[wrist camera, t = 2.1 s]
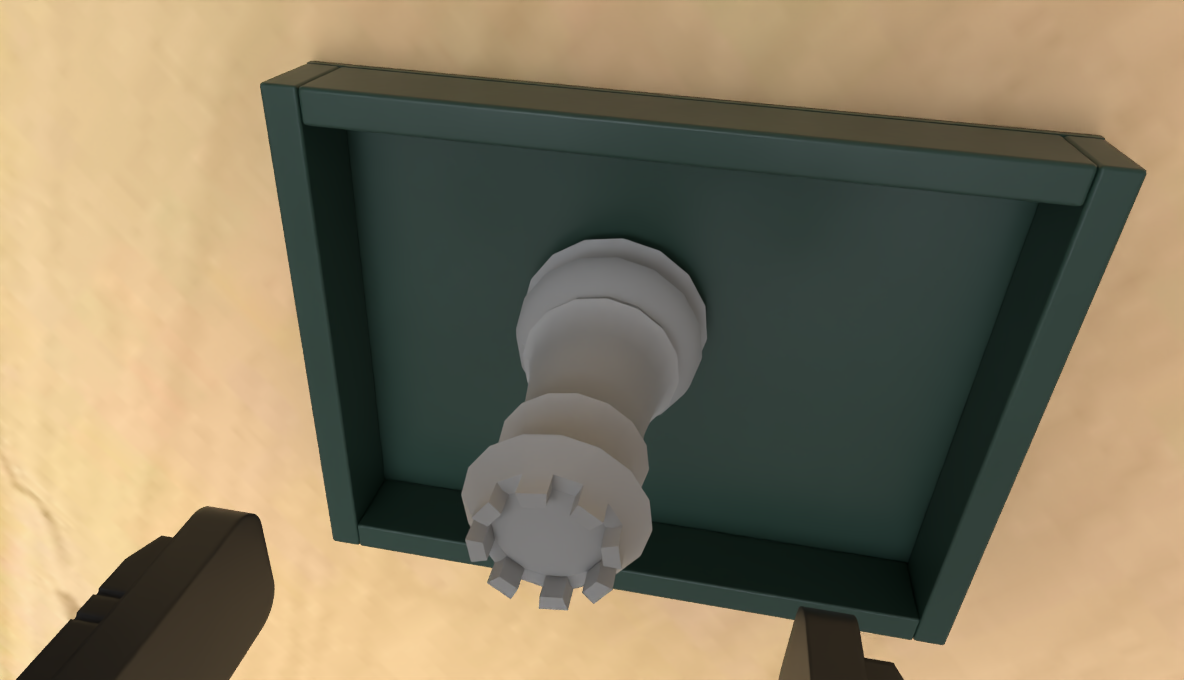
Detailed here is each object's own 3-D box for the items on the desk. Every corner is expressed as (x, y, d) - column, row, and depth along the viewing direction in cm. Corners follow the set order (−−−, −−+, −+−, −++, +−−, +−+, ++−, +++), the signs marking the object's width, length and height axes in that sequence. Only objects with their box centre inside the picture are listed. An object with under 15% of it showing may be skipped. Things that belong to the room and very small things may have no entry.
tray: (1101, 135, 15) (1150, 170, 14) (928, 581, 22) (944, 647, 20) (310, 60, 17) (257, 82, 16) (364, 490, 24) (332, 541, 22)
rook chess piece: (523, 375, 21) (412, 621, 14) (531, 216, 18) (399, 416, 11) (694, 404, 20) (664, 673, 13) (723, 244, 18) (705, 470, 11)
